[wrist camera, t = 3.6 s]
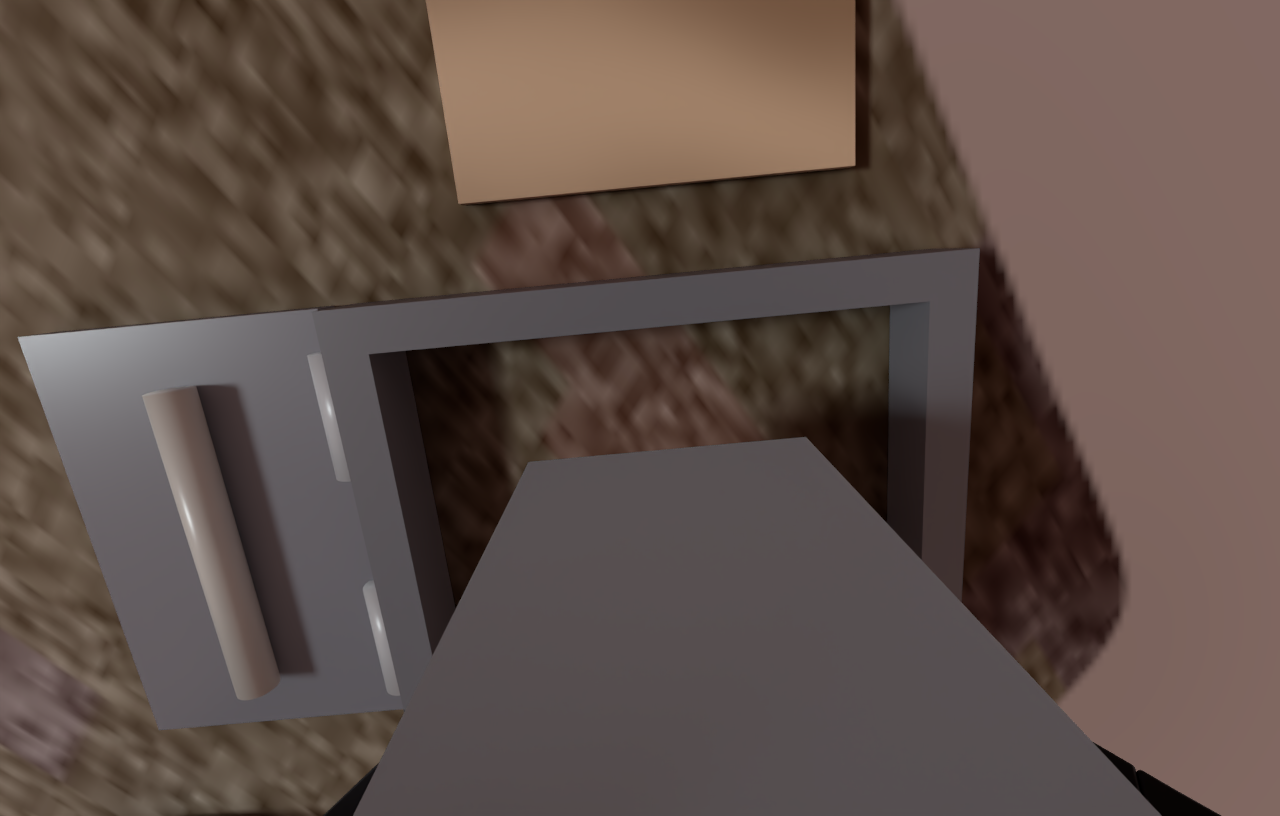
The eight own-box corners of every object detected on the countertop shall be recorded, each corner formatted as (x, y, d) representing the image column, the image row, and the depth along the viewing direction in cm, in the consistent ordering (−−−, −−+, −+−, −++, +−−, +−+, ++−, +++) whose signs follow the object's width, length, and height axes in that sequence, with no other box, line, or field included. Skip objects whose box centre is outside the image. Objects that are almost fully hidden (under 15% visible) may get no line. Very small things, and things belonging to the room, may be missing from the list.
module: (810, 673, 12) (1194, 1581, 4) (563, 694, 12) (415, 1632, 4) (805, 437, 11) (1368, 1032, 3) (529, 461, 11) (198, 1123, 3)
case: (920, 644, 17) (957, 694, 15) (180, 708, 17) (123, 766, 15) (932, 248, 14) (980, 248, 12) (50, 332, 14) (-40, 345, 13)
